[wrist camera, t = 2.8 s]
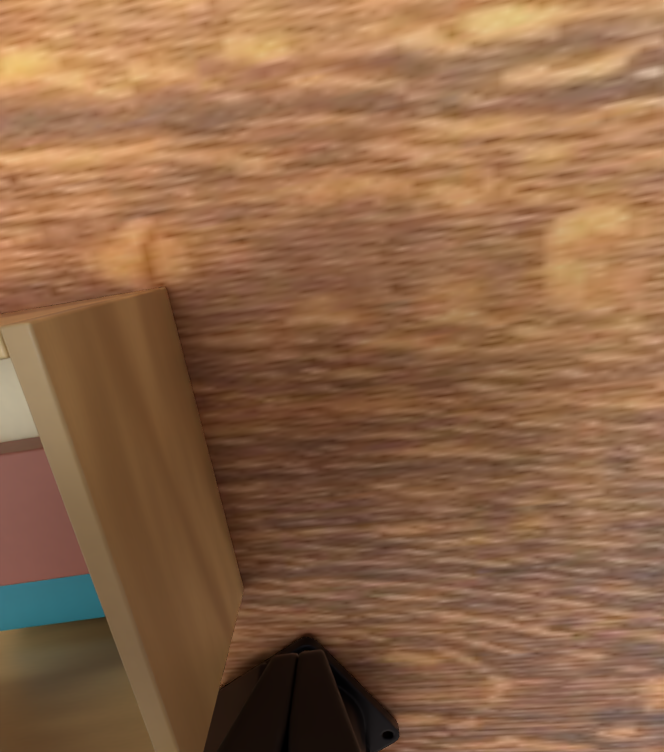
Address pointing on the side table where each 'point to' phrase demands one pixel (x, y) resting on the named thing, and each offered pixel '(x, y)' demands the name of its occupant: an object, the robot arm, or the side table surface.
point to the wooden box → (122, 535)
